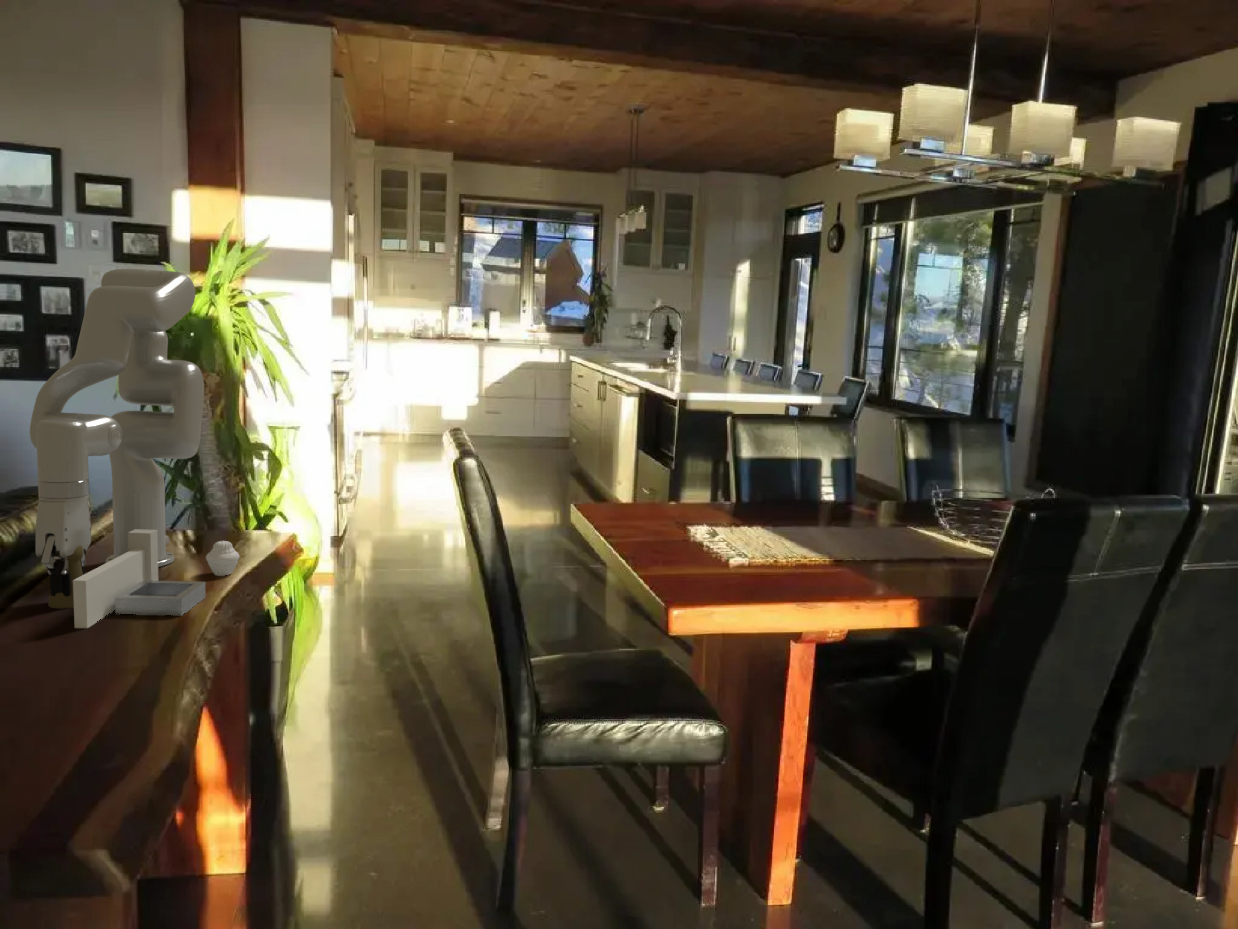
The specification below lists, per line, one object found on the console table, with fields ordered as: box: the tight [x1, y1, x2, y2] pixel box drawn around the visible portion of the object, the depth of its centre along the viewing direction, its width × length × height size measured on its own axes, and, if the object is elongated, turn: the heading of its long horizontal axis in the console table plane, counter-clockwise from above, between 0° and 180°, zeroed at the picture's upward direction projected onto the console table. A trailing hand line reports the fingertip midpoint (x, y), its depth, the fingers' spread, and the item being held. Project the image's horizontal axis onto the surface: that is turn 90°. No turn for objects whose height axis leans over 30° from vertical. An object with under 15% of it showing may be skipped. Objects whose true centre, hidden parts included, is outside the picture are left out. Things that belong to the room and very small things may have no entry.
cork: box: [47, 545, 84, 609], centre depth 159 cm, size 6×6×11 cm
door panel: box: [73, 529, 159, 629], centre depth 159 cm, size 25×4×11 cm, turn 5°
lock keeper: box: [114, 580, 206, 617], centre depth 161 cm, size 11×11×3 cm
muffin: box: [205, 540, 240, 577], centre depth 183 cm, size 6×6×7 cm
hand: (67, 591), depth 159 cm, fingers closed on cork, 3 cm apart
